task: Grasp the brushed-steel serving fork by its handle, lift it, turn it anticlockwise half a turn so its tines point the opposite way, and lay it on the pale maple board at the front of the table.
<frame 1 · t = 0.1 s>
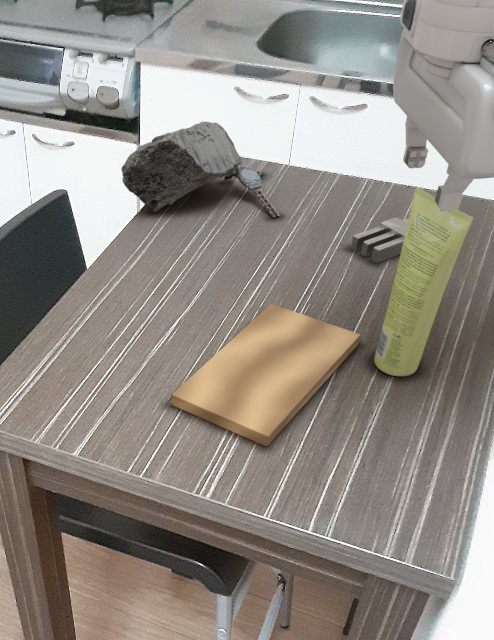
hand: (428, 185, 74), 20 cm above the table, tool pointing down, fingers open, 8 cm apart
stone: (135, 151, 117), point 6 cm above the table, touching wristwatch
fork: (394, 244, 107), on the table
tube: (396, 367, 87), on the table
wristwatch: (250, 199, 118), on the table, touching stone
circuit board: (245, 169, 125), on the table
board: (268, 373, 87), on the table
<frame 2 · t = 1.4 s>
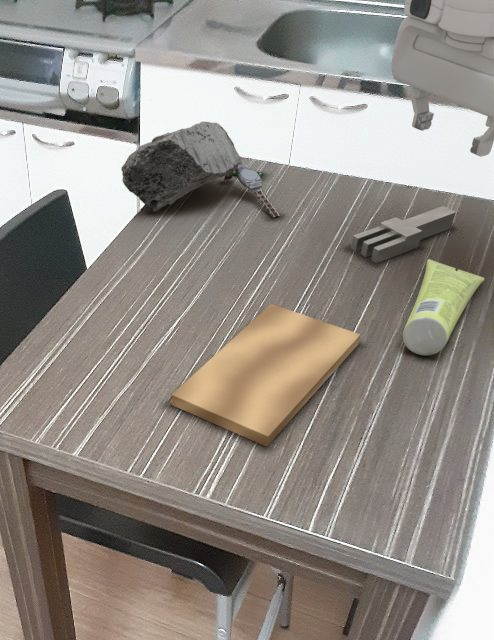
hand: (449, 140, 91), 16 cm above the table, tool pointing down, fingers open, 8 cm apart
tube: (425, 338, 86), point 3 cm above the table
everything else where it was.
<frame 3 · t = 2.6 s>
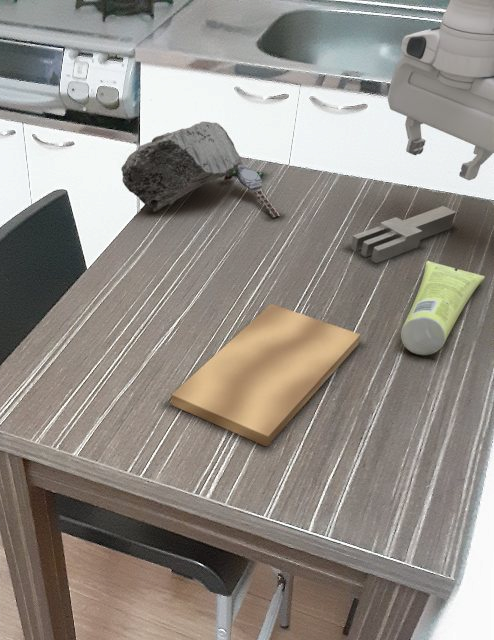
hand: (439, 165, 102), 10 cm above the table, tool pointing down, fingers open, 8 cm apart
nothing on the table moved.
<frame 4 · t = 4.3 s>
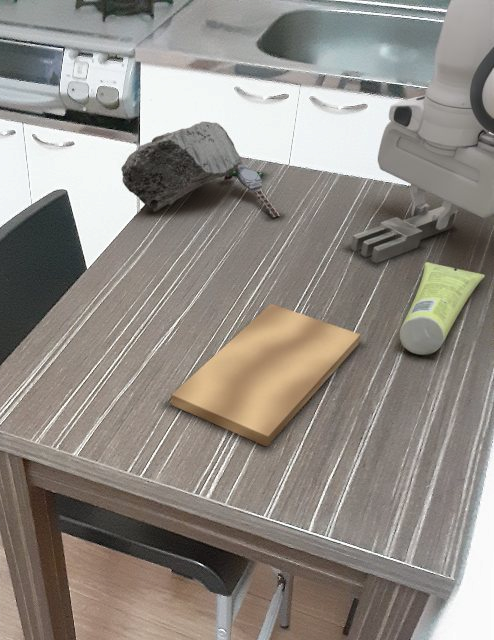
hand: (428, 222, 107), 2 cm above the table, tool pointing down, fingers closed on fork, 2 cm apart
fork: (394, 244, 107), on the table, touching gripper
everything else where it was.
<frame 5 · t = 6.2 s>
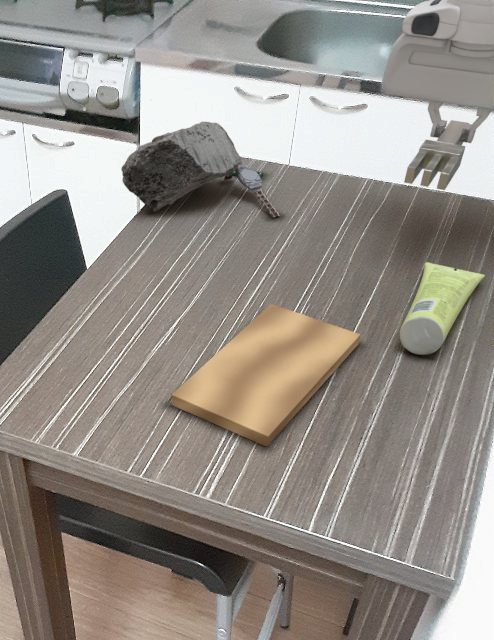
hand: (451, 138, 99), 13 cm above the table, tool pointing down, fingers closed on fork, 2 cm apart
fork: (436, 168, 97), point 11 cm above the table, touching gripper
everything else where it was.
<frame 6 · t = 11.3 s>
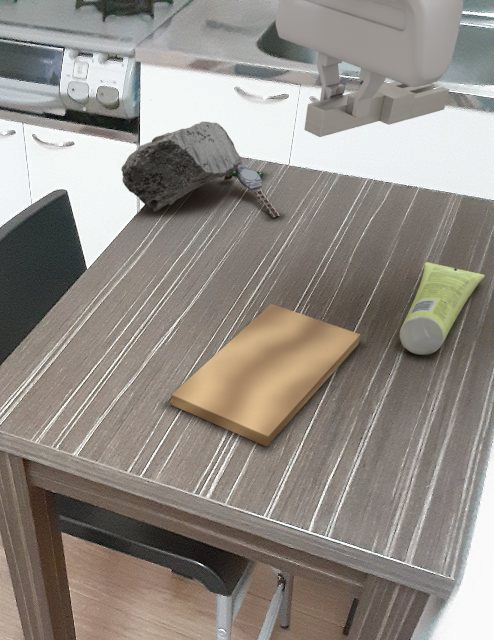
hand: (343, 109, 76), 25 cm above the table, tool pointing down, fingers closed on fork, 2 cm apart
fork: (385, 114, 79), point 23 cm above the table, touching gripper
everything else where it was.
when the fingers open (3 cm above the table, at t = 17.3 s): fork stays where it is, resting on board.
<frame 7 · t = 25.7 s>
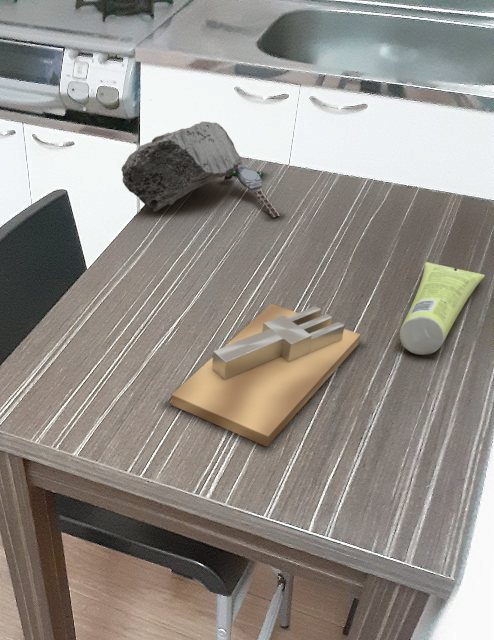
fork: (288, 346, 88), point 1 cm above the table, touching board
everything else where it was.
at the end: fork inside the target area on the board (0.1 cm from its centre), point 1.5 cm above the board's base; fork tilted 0°; the gripper is holding nothing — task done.
